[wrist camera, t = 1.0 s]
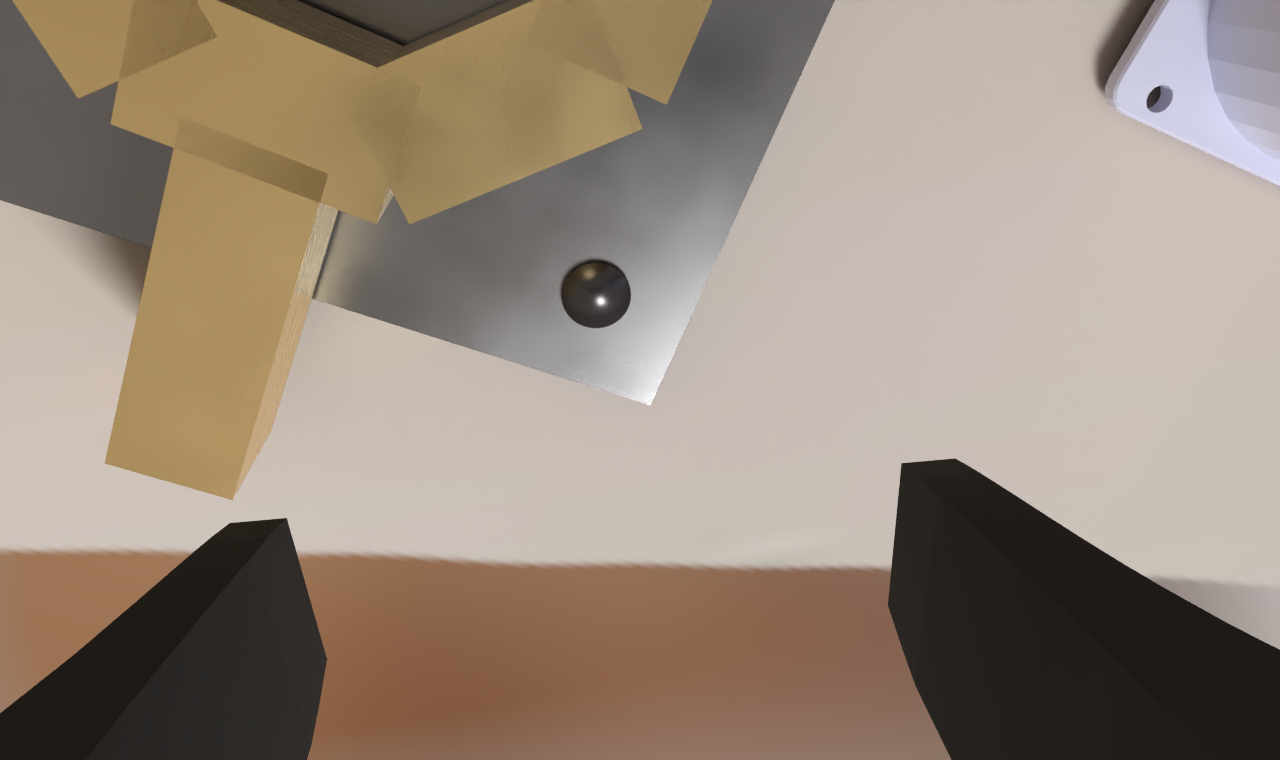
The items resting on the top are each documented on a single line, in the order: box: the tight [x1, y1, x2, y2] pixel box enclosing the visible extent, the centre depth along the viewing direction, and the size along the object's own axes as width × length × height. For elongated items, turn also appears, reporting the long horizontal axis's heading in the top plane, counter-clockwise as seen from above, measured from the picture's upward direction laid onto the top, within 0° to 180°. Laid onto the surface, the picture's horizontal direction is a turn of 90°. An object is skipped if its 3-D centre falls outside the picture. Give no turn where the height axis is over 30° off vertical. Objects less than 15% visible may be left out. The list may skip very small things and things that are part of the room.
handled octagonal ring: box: [12, 0, 712, 500], centre depth 14 cm, size 17×11×2 cm, turn 156°
